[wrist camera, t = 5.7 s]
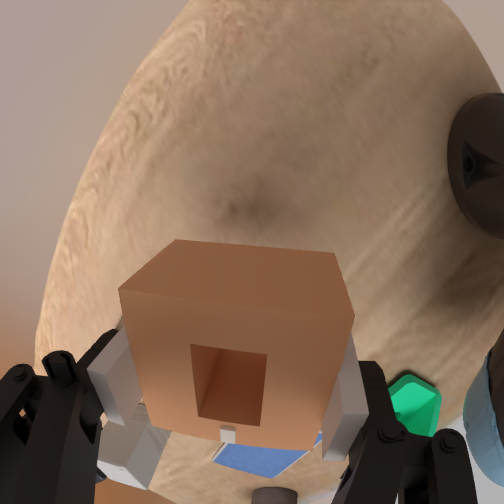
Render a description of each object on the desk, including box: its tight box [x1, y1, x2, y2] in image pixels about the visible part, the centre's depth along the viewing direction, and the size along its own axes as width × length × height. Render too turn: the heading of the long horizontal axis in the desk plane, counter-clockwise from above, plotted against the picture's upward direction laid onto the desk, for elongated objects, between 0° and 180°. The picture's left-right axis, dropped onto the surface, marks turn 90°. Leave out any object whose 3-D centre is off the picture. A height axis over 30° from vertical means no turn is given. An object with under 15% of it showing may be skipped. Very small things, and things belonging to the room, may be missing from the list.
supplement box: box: [97, 404, 171, 490], centre depth 35 cm, size 7×7×13 cm
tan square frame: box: [118, 239, 355, 451], centre depth 11 cm, size 7×7×5 cm
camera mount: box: [388, 374, 442, 437], centre depth 28 cm, size 12×8×10 cm, turn 148°
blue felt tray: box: [212, 428, 322, 478], centre depth 39 cm, size 19×13×1 cm, turn 157°
